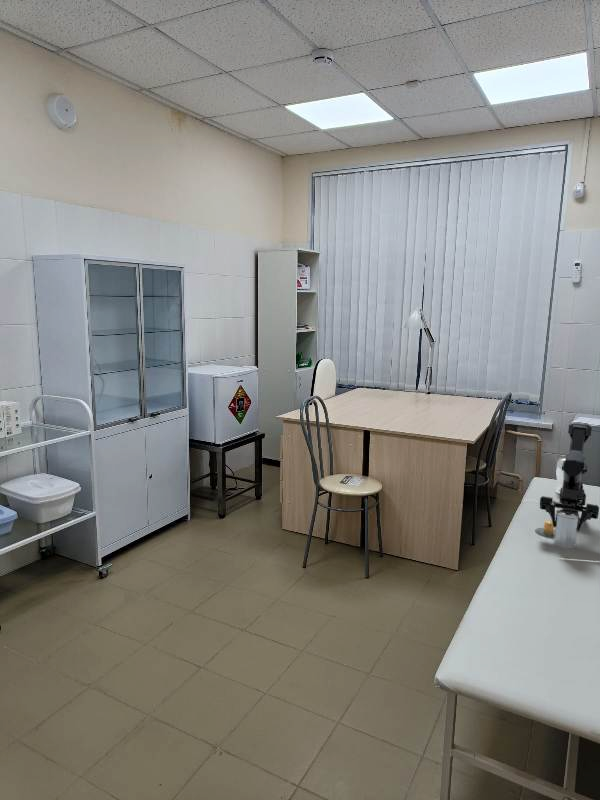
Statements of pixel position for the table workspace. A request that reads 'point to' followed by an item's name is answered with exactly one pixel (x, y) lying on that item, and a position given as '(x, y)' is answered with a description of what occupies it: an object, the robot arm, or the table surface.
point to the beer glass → (559, 475)
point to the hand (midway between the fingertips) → (565, 529)
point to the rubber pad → (541, 532)
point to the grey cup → (566, 529)
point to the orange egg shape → (548, 527)
